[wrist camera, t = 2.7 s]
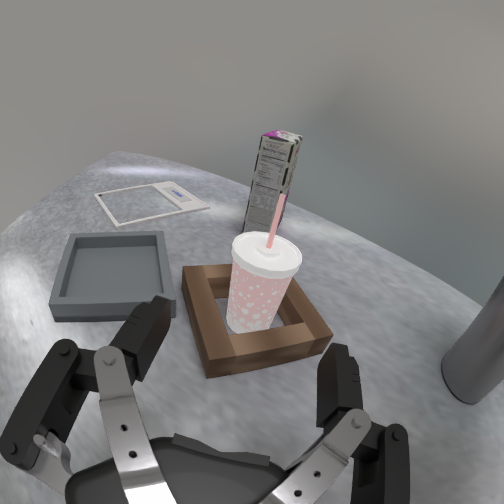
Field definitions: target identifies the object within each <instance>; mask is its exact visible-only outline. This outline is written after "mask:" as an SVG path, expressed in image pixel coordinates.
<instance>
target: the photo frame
mask: <svg viewBox="0 0 504 504" xmlns="http://www.w3.org/2000/svg"><path fill="white" fill-rule="evenodd" d="M150 187H152V188H153V189H154V190H155V191H157V192H158V193H159V194H160V195H162V196H163V197H164V198H165V199H167V200H168V201H169V202H171V203H172V204H173V205H174V206H176V207H177V208H178V209H179V210H180V211H175V212H170V213H166V214H161V215H156V216H152V217H147V218H143V219H138V220H134V221H130V222H125V223H121V224H118V222H117V221H116V220H115V218H114V217H113V216H112V214H111V213H110V211H109V210H108V209H107V207H106V206H105V204H104V203H103V202H102V200H101V199H100V197H99V195H102V196H105V195H110V194H116V193H121V192H126V191H132V190H138V189H144V188H150ZM94 198H95V199H96V201H97V202H98V204H99V205H100V207H101V208H102V210H103V211H104V213H105V214H106V216H107V217H108V219H109V220H110V221H111V223H112V224H113V226H114V227H115V229H116V230H117V229H121V228H125V227H130V226H134V225H138V224H142V223H146V222H151V221H155V220H159V219H164V218H168V217H173V216H178V215H182V214H187V213H192V212H197V211H201V210H206V209H210V206H208V205H207V204H205V203H204V202H202V201H201V200H199V199H198V198H196V197H195V196H193V195H192V194H190V193H189V192H187V191H186V190H184V189H183V188H181V187H180V186H178V185H177V184H175V183H174V182H172V181H168V182H161V183H154V184H148V185H142V186H135V187H129V188H124V189H118V190H113V191H107V192H102V193H97V194H94Z"/></svg>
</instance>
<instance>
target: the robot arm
mask: <svg viewBox="0 0 504 504" xmlns="http://www.w3.org/2000/svg"><path fill="white" fill-rule="evenodd" d="M170 323H171V300H170V299H167V298H164V297H161V296H158V295H155V296H154V298H153V299H152V301H151V302H150V304H149V303H146V302H142V303H141V304H139V305H138V306H136V307H135V308H134V310H133V311H132V312H131V314H130V316H129V317H128V318H127V320H126V322H125V323H124V324H123V325H122V327H121V328H120V330H119V331H118V333H117V334H116V336H115V337H114V339H113V340H112V342H111V343H110V344H109V345H108V346H104V347H102V348H100V349H98V350H96V351H94V350H87V349H80V348H78V346H77V345H76V343H75V342H74V341H72V340H70V339H61V340H59V341H57V342H56V343H55V344H54V345H53V346H52V348H51V349H50V351H49V352H48V354H47V355H46V357H45V358H44V360H43V361H42V363H41V365H40V366H39V368H38V369H37V371H36V373H35V374H34V376H33V377H32V379H31V381H30V382H29V384H28V386H27V388H26V389H25V391H24V393H23V395H22V396H21V398H20V400H19V402H18V404H17V405H16V407H15V409H14V411H13V413H12V415H11V417H10V419H9V421H8V423H7V425H6V427H5V429H4V431H3V433H2V435H1V437H0V453H1V455H2V456H3V458H4V459H5V460H6V461H7V462H9V463H10V464H12V465H14V466H16V467H17V468H18V469H20V470H22V471H24V472H26V473H28V474H30V475H33V476H34V477H36V478H37V479H39V480H40V481H41V482H43V483H45V484H46V485H48V486H49V487H51V488H52V489H54V490H56V491H57V492H59V493H60V494H62V495H64V496H65V500H66V504H313V503H314V502H315V501H316V500H317V499H318V498H319V497H320V496H321V495H322V494H323V493H324V492H325V491H326V489H327V488H328V487H329V486H330V485H331V484H332V483H333V482H334V480H335V479H336V478H337V477H338V476H339V475H340V473H341V472H342V471H343V470H344V469H345V467H346V466H347V464H348V461H347V460H348V458H349V457H353V458H354V469H353V482H352V493H351V503H350V504H410V462H409V444H408V434H407V431H406V429H405V428H404V427H403V426H402V425H400V424H391V425H389V426H388V427H384V426H382V425H379V424H376V423H374V422H372V421H371V419H370V417H369V415H368V414H367V413H366V412H365V411H364V410H363V401H362V391H361V383H360V376H359V375H360V374H359V366H358V364H357V362H356V360H355V358H354V357H350V356H349V352H348V346H347V345H343V344H337V343H331V345H330V346H329V348H328V349H327V351H326V352H325V354H324V355H323V357H322V359H321V360H320V362H319V365H318V369H317V421H316V427H320V428H324V433H323V434H322V435H321V436H320V437H319V438H318V439H317V440H316V441H315V442H314V443H313V444H312V445H311V446H310V447H309V448H308V449H307V450H306V451H305V452H304V453H303V454H302V455H301V456H300V457H299V458H298V459H297V460H296V461H294V462H293V463H292V464H291V465H289V466H288V467H287V468H286V469H285V470H283V469H282V468H281V467H280V466H278V465H276V464H275V463H273V462H271V461H270V456H266V455H259V454H254V453H248V452H219V451H217V450H215V449H213V448H211V447H209V446H208V445H206V444H204V443H202V442H200V441H198V440H195V439H192V438H188V437H185V436H182V435H179V434H176V433H175V434H174V437H160V438H154V439H151V440H149V438H148V435H147V432H146V430H145V427H144V424H143V421H142V418H141V415H140V412H139V409H138V406H137V402H136V399H135V396H134V392H133V388H132V386H133V384H134V382H135V380H138V381H140V382H142V381H143V379H144V377H145V375H146V373H147V371H148V369H149V367H150V365H151V363H152V361H153V359H154V357H155V356H156V354H157V352H158V350H159V348H160V346H161V344H162V342H163V340H164V338H165V336H166V334H167V332H168V330H169V327H170ZM442 371H443V375H444V379H445V381H446V383H447V385H448V387H449V388H450V390H451V391H452V392H453V393H454V395H455V396H456V397H458V398H459V399H460V400H462V401H463V402H465V403H468V404H475V403H478V402H479V401H480V400H481V399H483V398H484V397H485V396H486V395H487V394H488V393H489V392H490V391H492V390H493V389H494V388H495V387H496V386H497V385H498V384H499V383H500V382H501V381H502V380H503V379H504V276H503V277H502V279H501V281H500V282H499V284H498V286H497V287H496V289H495V290H494V292H493V294H492V295H491V297H490V298H489V300H488V301H487V303H486V304H485V306H484V307H483V308H482V310H481V311H480V313H479V314H478V315H477V317H476V318H475V319H474V321H473V322H472V323H471V325H470V326H469V327H468V329H467V330H466V331H465V332H464V334H463V335H462V336H461V337H460V338H459V340H458V341H457V342H456V343H455V344H454V346H453V347H452V348H451V349H450V350H449V351H448V353H447V354H446V355H445V356H444V358H443V361H442ZM89 391H92V392H99V394H100V400H99V404H100V410H101V414H102V418H103V422H104V426H105V430H106V434H107V438H108V441H109V445H110V448H111V451H112V454H113V457H112V458H110V459H108V460H106V461H103V462H101V463H99V464H96V465H94V466H92V467H89V468H87V469H84V470H82V471H79V472H77V473H75V474H73V473H72V471H71V468H70V459H71V453H70V450H69V448H68V447H67V445H66V444H65V443H66V440H67V438H68V436H69V433H70V431H71V429H72V427H73V424H74V422H75V420H76V418H77V416H78V414H79V411H80V409H81V407H82V405H83V403H84V401H85V399H86V397H87V395H88V393H89Z"/></svg>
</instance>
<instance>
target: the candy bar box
mask: <svg viewBox="0 0 504 504" xmlns="http://www.w3.org/2000/svg"><path fill="white" fill-rule="evenodd" d="M302 138H303V137H302V136H300V135H297V134H293V133H289V132H285V131H281V130H276V131H272V132H269V133H266V134H263V135H262V136H261V141H260V146H259V152H258V156H257V161H256V166H255V170H254V176H253V181H252V186H251V191H250V196H249V201H248V206H247V211H246V215H245V221H244V226H243V231H242V233H246V232H253V231H257V232H267V233H270V230H271V226H272V222H273V219H274V215H275V211H276V207H277V203H278V200H279V196H280V194H285V195H286V197H285V200H284V204H283V208H282V211H281V215H280V219H279V222H278V226H279V224H280V222H281V220H282V216H283V212H284V208H285V205H286V200H287V197H288V193H289V189H290V185H291V181H292V178H293V174H294V170H295V166H296V162H297V158H298V154H299V150H300V146H301V142H302ZM278 226H277V228H278Z"/></svg>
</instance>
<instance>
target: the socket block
mask: <svg viewBox="0 0 504 504" xmlns="http://www.w3.org/2000/svg"><path fill="white" fill-rule="evenodd" d="M232 265H233V264H221V265H200V266H183V271H182V291H183V295H184V299H185V303H186V307H187V311H188V315H189V319H190V323H191V326H192V330H193V334H194V337H195V341H196V344H197V348H198V351H199V355H200V358H201V361H202V365H203V368H204V371H205V374H206V378H214V377H220V376H226V375H232V374H237V373H242V372H247V371H252V370H257V369H262V368H266V367H271V366H275V365H279V364H283V363H288V362H291V361H295V360H299V359H303V358H307V357H310V356H314V355H317V354H321V353H323V351H324V349H325V348H326V346H327V345H328V343H329V341H330V340H331V338H332V337H333V335H334V334H333V333H332V332H331V330H330V329H329V327H328V326H327V324H326V323H325V322H324V320H323V319H322V317H321V316H320V314H319V313H318V312H317V310H316V309H315V307H314V306H313V305H312V303H311V302H310V300H309V299H308V298H307V296H306V295H305V293H304V292H303V291H302V289H301V288H300V286H299V285H298V284H297V282H296V281H295V279H294V278H293V277H292V279H291V281H290V283H289V286H288V288H287V290H286V292H285V294H284V297H283V299H282V301H281V303H280V305H279V307H278V310H277V312H278V314H279V315H280V317H281V319H282V320H283V322H284V324H285V326H283V327H277V328H271V329H265V330H259V331H253V332H246V333H240V334H233V335H228V333H227V330H226V328H225V325H224V323H223V320H222V317H221V315H220V312H219V309H218V307H217V304H216V301H215V299H214V298H225V297H229V290H230V282H231V274H232Z"/></svg>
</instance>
